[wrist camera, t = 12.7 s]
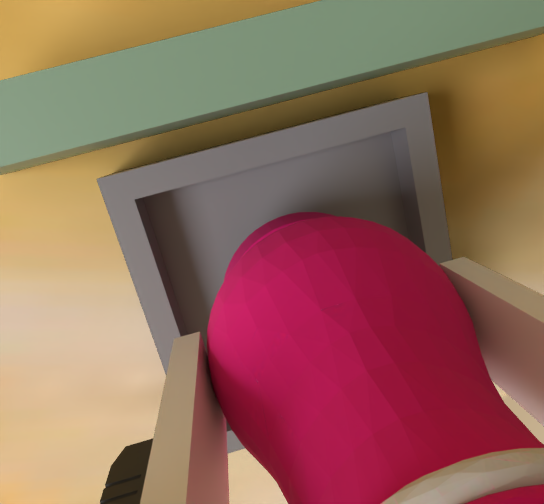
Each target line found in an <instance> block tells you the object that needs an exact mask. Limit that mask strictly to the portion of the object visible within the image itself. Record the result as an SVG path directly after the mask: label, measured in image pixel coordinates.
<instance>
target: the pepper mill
mask: <svg viewBox="0 0 544 504" xmlns="http://www.w3.org/2000/svg"><path fill="white" fill-rule="evenodd" d="M207 354H208V361H209V368H210V374H211V381H212V387H213V391H214V393H215V395H216V398H217V400H218V402H219V405H220V407H221V409H222V412H223V414H224V416H225V418H226V420H227V422H228V424H229V425H230V427H231V429H232V431H233V432H234V434H235V435H236V437H237V438H238V439H239V441H240V442H241V444H242V445H243V446H244V447H245V448H246V449H247V450H248V451H249V452H250V453H251V454H252V455H253V456H254V457H255V458H256V459H257V461H258V462H259V463H260V464H261V465H262V466H263V467H264V468H265V469H266V470H267V471H268V472H269V473H270V474H271V476H272V477H273V478H274V479H275V481H276V482H277V484H278V485H279V487H280V489H281V491H282V493H283V495H284V497H285V498H286V500H287V502H288V504H544V444H542V443H541V442H540V441H539V440H538V439H537V438H536V437H535V436H534V435H533V434H532V433H531V432H530V431H529V430H528V428H527V427H526V426H525V425H524V424H523V423H522V422H521V421H520V420H519V419H518V418H517V416H516V415H515V414H514V413H513V412H512V411H511V410H510V409H509V408H508V407H507V406H506V404H505V403H504V402H503V400H502V398H501V396H500V395H499V393H498V391H497V389H496V388H495V386H494V384H493V382H492V381H491V378H490V376H489V373H488V370H487V368H486V365H485V362H484V360H483V357H482V354H481V351H480V347H479V343H478V340H477V336H476V333H475V329H474V325H473V322H472V319H471V317H470V315H469V313H468V310H467V308H466V306H465V304H464V302H463V301H462V299H461V297H460V295H459V294H458V292H457V290H456V289H455V287H454V285H453V284H452V282H451V281H450V280H449V278H448V277H447V275H446V274H445V272H444V271H443V269H442V268H441V267H440V266H439V265H438V264H437V263H436V262H435V261H434V260H433V259H432V258H431V257H430V256H429V255H427V254H426V253H425V252H424V251H422V250H421V249H420V248H419V247H418V246H416V245H415V244H414V243H413V242H411V241H410V240H409V239H408V238H406V237H404V236H403V235H401V234H399V233H398V232H396V231H394V230H393V229H391V228H388V227H386V226H383V225H381V224H378V223H375V222H373V221H368V220H363V219H358V218H352V217H341V216H340V217H337V216H334V215H331V214H326V213H319V212H297V213H292V214H287V215H284V216H281V217H278V218H276V219H274V220H272V221H269V222H267V223H265V224H264V225H262V226H261V227H259V228H258V229H256V230H255V231H254V232H253V233H251V234H250V235H249V236H248V237H247V238H246V239H245V240H244V241H243V243H242V244H241V245H240V246H239V248H238V249H237V251H236V252H235V253H234V255H233V257H232V259H231V261H230V263H229V265H228V268H227V271H226V273H225V278H224V282H223V284H222V286H221V288H220V289H219V291H218V293H217V296H216V298H215V301H214V304H213V307H212V309H211V313H210V318H209V323H208V328H207Z"/></svg>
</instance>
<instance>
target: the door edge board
mask: <svg viewBox="0 0 544 504" xmlns="http://www.w3.org/2000/svg"><path fill="white" fill-rule="evenodd" d="M543 33H544V0H321V1H317V2H313V3H309V4H305V5H301V6H297V7H293V8H289V9H285V10H281V11H277V12H273V13H269V14H265V15H261V16H257V17H253V18H249V19H245V20H241V21H237V22H233V23H229V24H225V25H221V26H217V27H213V28H209V29H205V30H201V31H197V32H193V33H189V34H185V35H181V36H177V37H173V38H169V39H165V40H161V41H157V42H153V43H149V44H145V45H141V46H137V47H133V48H129V49H125V50H121V51H117V52H113V53H109V54H105V55H101V56H97V57H93V58H89V59H85V60H81V61H77V62H73V63H69V64H65V65H61V66H57V67H53V68H49V69H45V70H41V71H37V72H33V73H29V74H25V75H21V76H17V77H13V78H9V79H5V80H1V81H0V175H3V174H7V173H11V172H14V171H18V170H22V169H26V168H30V167H34V166H38V165H41V164H45V163H49V162H53V161H57V160H61V159H64V158H68V157H72V156H76V155H80V154H84V153H88V152H91V151H95V150H99V149H103V148H107V147H111V146H114V145H118V144H122V143H126V142H130V141H134V140H138V139H141V138H145V137H149V136H153V135H157V134H161V133H164V132H168V131H172V130H176V129H180V128H184V127H188V126H191V125H195V124H199V123H203V122H207V121H211V120H214V119H218V118H222V117H226V116H230V115H234V114H237V113H241V112H245V111H249V110H253V109H257V108H261V107H264V106H268V105H272V104H276V103H280V102H284V101H287V100H291V99H295V98H299V97H303V96H307V95H311V94H314V93H318V92H322V91H326V90H330V89H334V88H337V87H341V86H345V85H349V84H353V83H357V82H361V81H364V80H368V79H372V78H376V77H380V76H384V75H387V74H391V73H395V72H399V71H403V70H407V69H411V68H414V67H418V66H422V65H426V64H430V63H434V62H437V61H441V60H445V59H449V58H453V57H457V56H461V55H464V54H468V53H472V52H476V51H480V50H484V49H487V48H491V47H495V46H499V45H503V44H507V43H510V42H514V41H518V40H522V39H526V38H530V37H534V36H537V35H540V34H543Z"/></svg>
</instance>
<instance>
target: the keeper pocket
mask: <svg viewBox="0 0 544 504" xmlns="http://www.w3.org/2000/svg"><path fill="white" fill-rule="evenodd" d="M97 182H98V185H99V188H100V190H101V193H102V196H103V199H104V202H105V204H106V207H107V210H108V213H109V216H110V219H111V221H112V224H113V227H114V230H115V233H116V235H117V238H118V241H119V244H120V247H121V249H122V252H123V255H124V258H125V261H126V264H127V266H128V269H129V272H130V275H131V278H132V280H133V283H134V286H135V289H136V292H137V294H138V297H139V300H140V303H141V306H142V309H143V311H144V314H145V317H146V320H147V323H148V325H149V328H150V331H151V334H152V337H153V340H154V342H155V345H156V348H157V351H158V354H159V356H160V359H161V362H162V365H163V368H164V370H165V373H166V375H167V370H168V365H169V360H170V356H171V351H172V346H173V341H174V339H175V338H178V337H182V336H185V335H189V334H193V333H196V332H200V333H201V336H202V339H203V343H204V346H205V349H206V352H207V328H208V323H209V318H210V313H211V309H212V307H213V304H214V301H215V298H216V296H217V293H218V291H219V289H220V288H221V286H222V284H223V282H224V278H225V273H226V271H227V268H228V265H229V263H230V261H231V259H232V257H233V255H234V253H235V252H236V251H237V249H238V248H239V246H240V245H241V244H242V243H243V241H244V240H245V239H246V238H247V237H248V236H249V235H250V234H251V233H253V232H254V231H255V230H256V229H258V228H259V227H261V226H262V225H264V224H265V223H267V222H269V221H272V220H274V219H276V218H278V217H281V216H284V215H287V214H292V213H297V212H319V213H326V214H331V215H334V216H337V217H340V216H341V217H352V218H358V219H363V220H368V221H373V222H375V223H378V224H381V225H383V226H386V227H388V228H391V229H393V230H394V231H396V232H398V233H399V234H401V235H403V236H404V237H406V238H408V239H409V240H410V241H411V242H413V243H414V244H415V245H416V246H418V247H419V248H420V249H421V250H422V251H424V252H425V253H426V254H427V255H429V256H430V257H431V258H432V259H433V260H434V261H435V262H436V263H437V264H438V265H439V266H440V263H443V262H447V261H450V260H452V253H451V246H450V240H449V233H448V226H447V220H446V213H445V206H444V200H443V193H442V186H441V180H440V173H439V166H438V160H437V153H436V146H435V140H434V133H433V126H432V120H431V113H430V106H429V100H428V93H427V92H425V93H420V94H415V95H411V96H406V97H401V98H397V99H393V100H389V101H386V102H382V103H378V104H374V105H370V106H367V107H363V108H359V109H355V110H351V111H348V112H344V113H340V114H336V115H332V116H329V117H325V118H321V119H317V120H313V121H310V122H306V123H302V124H298V125H294V126H291V127H287V128H283V129H279V130H275V131H272V132H268V133H264V134H260V135H256V136H253V137H249V138H245V139H241V140H237V141H234V142H230V143H226V144H222V145H218V146H215V147H211V148H207V149H203V150H199V151H196V152H192V153H188V154H184V155H180V156H177V157H173V158H169V159H165V160H161V161H158V162H154V163H150V164H146V165H142V166H139V167H135V168H131V169H127V170H123V171H120V172H116V173H112V174H109V175H107V176H104V177H101V178H98V179H97ZM207 355H208V354H207ZM226 429H227V453H231V452H234V451H237V450H241V449H244V448H245V447H244V446H243V445H242V444H241V442H240V441H239V439H238V438H237V437H236V435H235V434H234V432H233V431H232V429H231V427H230V425H229V424H228V422H227V420H226Z"/></svg>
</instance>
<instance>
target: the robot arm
mask: <svg viewBox="0 0 544 504" xmlns="http://www.w3.org/2000/svg"><path fill="white" fill-rule="evenodd" d="M440 267H441V268H442V269H443V271H444V272H445V274H446V275H447V277H448V278H449V280H450V281H451V282H452V284H453V285H454V287H455V289H456V290H457V292H458V294H459V295H460V297H461V299H462V301H463V302H464V304H465V306H466V308H467V310H468V313H469V315H470V317H471V319H472V322H473V325H474V329H475V333H476V336H477V340H478V343H479V347H480V351H481V354H482V357H483V360H484V362H485V365H486V368H487V370H488V373H489V376H490V378H491V380H492V381H493V382H494V383H496V384H497V385H498V386H499V387H500V388H501V389H502V390H503V391H505V392H506V393H507V394H508V395H509V396H510V397H511V398H512V399H514V400H515V401H516V402H517V403H518V404H519V405H520V406H521V407H523V408H524V409H525V410H526V411H527V412H528V413H529V414H530V415H532V416H533V417H534V418H535V419H536V420H537V421H538V422H539V423H541V424H542V425H543V426H544V295H542V294H540V293H538V292H536V291H534V290H532V289H530V288H527V287H525V286H523V285H521V284H519V283H517V282H515V281H513V280H511V279H509V278H507V277H505V276H503V275H501V274H499V273H497V272H495V271H493V270H491V269H488V268H486V267H484V266H482V265H480V264H478V263H476V262H474V261H472V260H470V259H468V258H466V257H461V258H457V259H454V260H450V261H447V262H443V263H440ZM105 486H106V488H105V489H104V490H103V494H102V497H101V500H100V504H229V483H228V456H227V429H226V418H225V416H224V414H223V412H222V409H221V407H220V405H219V402H218V400H217V398H216V395H215V393H214V391H213V387H212V381H211V374H210V368H209V361H208V355H207V352H206V349H205V346H204V343H203V339H202V336H201V333H200V332H196V333H193V334H189V335H185V336H182V337H178V338H175V339H174V341H173V346H172V351H171V356H170V360H169V365H168V370H167V375H166V380H165V385H164V390H163V394H162V399H161V404H160V409H159V414H158V419H157V424H156V428H155V433H154V438H153V439H150V440H147V441H143V442H140V443H136V444H133V445H130V446H126V447H125V448H124V450H123V451H122V452H121V454H120V455H119V456H118V458H117V459H116V460H115V461H114V463H113V464H112V465H111V468H110V471H109V475H108V478H107V481H106V484H105Z"/></svg>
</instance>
